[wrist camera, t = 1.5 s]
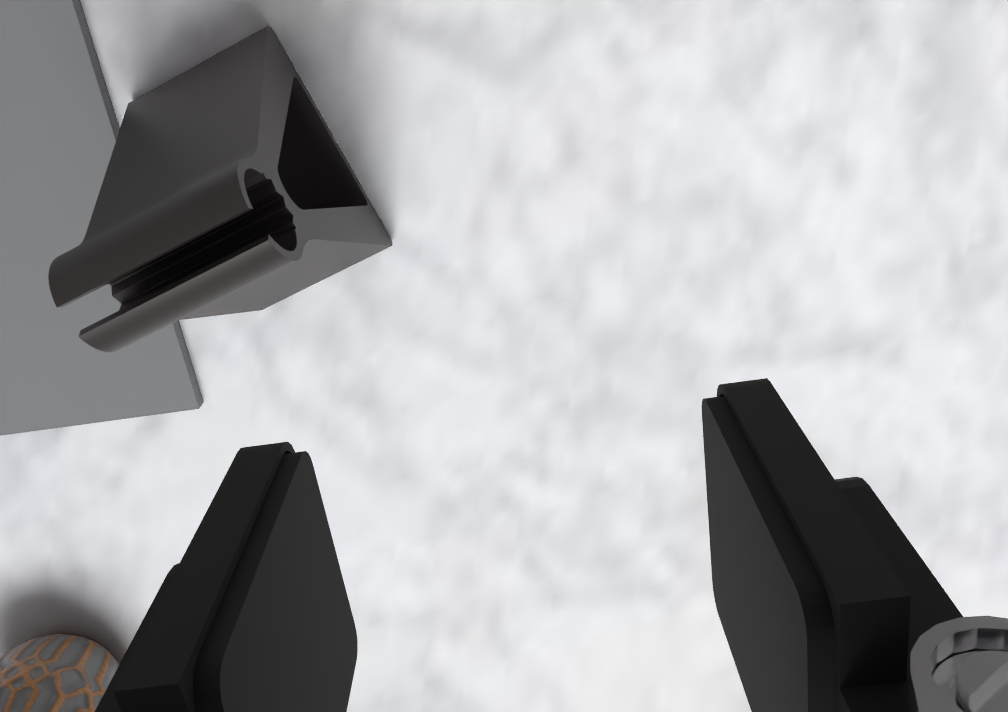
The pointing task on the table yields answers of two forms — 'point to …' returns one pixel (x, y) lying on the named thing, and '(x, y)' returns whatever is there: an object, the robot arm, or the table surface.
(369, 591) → the table surface
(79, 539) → the table surface
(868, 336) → the table surface
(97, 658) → the vase
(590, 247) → the table surface
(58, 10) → the mat
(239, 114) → the phone stand
